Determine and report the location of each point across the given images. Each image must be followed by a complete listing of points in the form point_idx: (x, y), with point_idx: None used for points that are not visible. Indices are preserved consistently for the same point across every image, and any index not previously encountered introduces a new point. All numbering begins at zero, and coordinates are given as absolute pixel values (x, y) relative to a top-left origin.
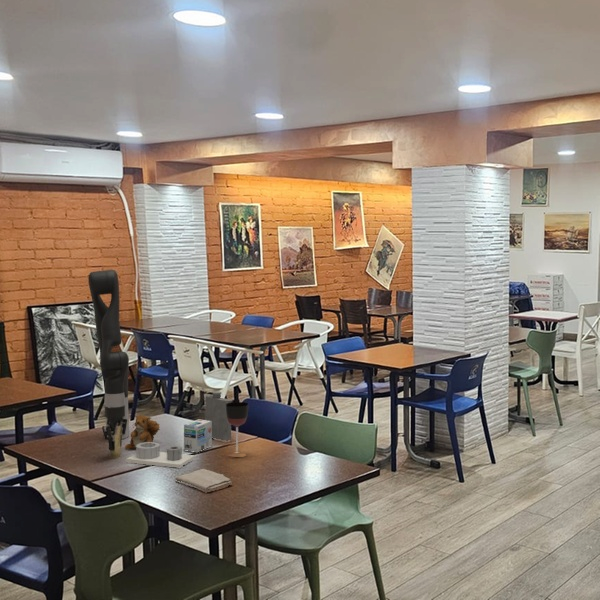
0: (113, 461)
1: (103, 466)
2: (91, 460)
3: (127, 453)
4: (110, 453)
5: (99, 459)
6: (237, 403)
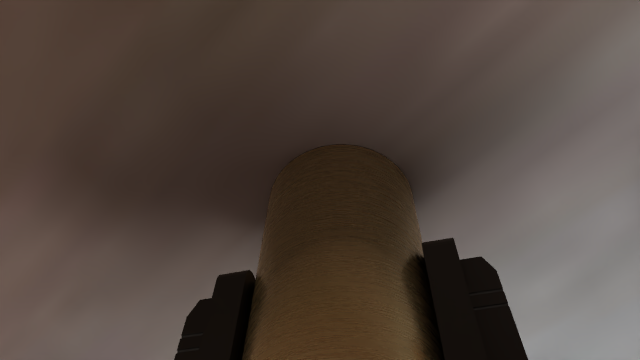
0: (194, 301)
1: (5, 329)
2: (20, 57)
3: (547, 228)
4: (265, 226)
5: (131, 117)
6: None
